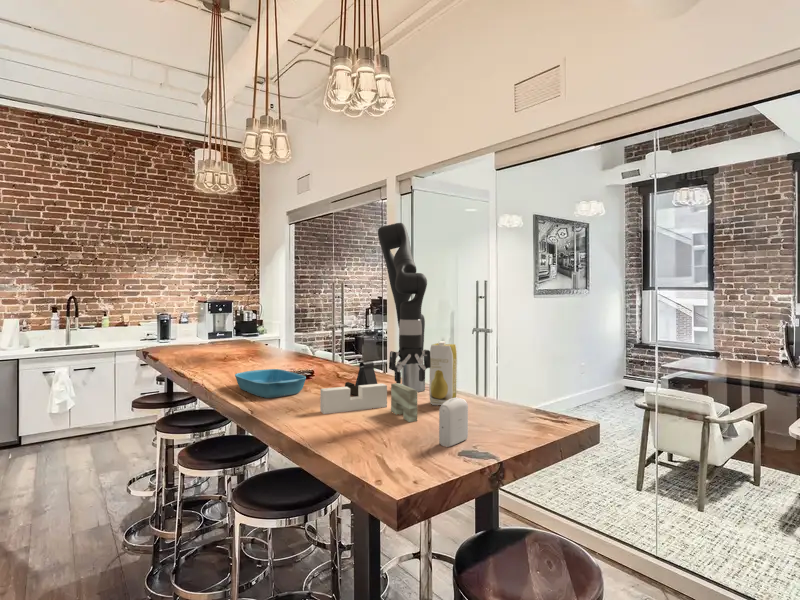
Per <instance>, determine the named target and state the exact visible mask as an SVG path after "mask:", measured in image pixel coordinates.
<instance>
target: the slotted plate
mask: <svg viewBox="0 0 800 600" xmlns="http://www.w3.org/2000/svg"><path fill="white" fill-rule="evenodd" d="M390 393H391V394H390V397H391V399H390V413H392V412H393V413H392V414H394V413H395V414H394V415H395V416H398V415H397V414H399V415H402V417H403V420H404V419H405V420H404V421H406V422H408V423H412V422H413V421H414V422H417V421H418V392H417V390H414V389H412V388H410V387H407V386H405V385H402V383H396V382H395V383H391V388H390Z"/></svg>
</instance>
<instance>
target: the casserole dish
mask: <svg viewBox="0 0 800 600" xmlns="http://www.w3.org/2000/svg"><path fill="white" fill-rule="evenodd" d="M234 377H235V379H236V382H237V386H238V387H239V388H240V389H241V390H242V391H244V392H246V391H247V393H249V394H252V395H254V396H257V397H259V396H260V397H259V398H263V397H264V398H265V399H272V398H273V399H274V398H281V397H286V396H287V397H288V396H292V395H297V394H299V393H300V392H301V391H302V390H303V388H304V385H305V382H306V379H307V377H306V375H303V374H301V373H296V372H292V371H289V370H284V369H279V368H277V369H276V368H270V369H269V368H268V369H255V370H247V371H243V372H238V373H235V374H234Z"/></svg>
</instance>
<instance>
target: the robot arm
mask: <svg viewBox="0 0 800 600" xmlns="http://www.w3.org/2000/svg"><path fill="white" fill-rule="evenodd" d="M377 237H378V242H379V245H380V248H381V251H382V255H383V259H384V261H385V265H386V269H387V275H388V281H389V286H390V289H391V292H392V296H393V300H394V301H393V302H394V305H395V309H396V310H395V311H396V316H397V317H396V318H397V325H398V348H399V349H398V351H392V350H390V351H389V363H388V370H391V371H393V372H394V381H395V383H400V384H402V385H405V386H407V387H410V388H412V389H414V390H417V393H420V392H422V391H425V390H426V370H427V369H430V367H431V363H430V350H429V349H424V344H425V330H426V329H425V326H426V323H425V322H426V320H425V316H424V314H422V306H423V301H424V296H425V294H426V290H427V286H428V280H427V277H426V275H425V274H424V273H421V272H417V266H416V264H415V261H414V257H413V254H412V249H411V244H410V243H411V242H410V237H409V235H408V230H407V227H406V226H405V224H404V223H403V222H396V223H395V222H394V223H392V224H389V225H384V226H383V225H382V226H381V227H379V228H378V230H377ZM394 249H397V250H396V252H395V254H393V253H392V251H391V250H394ZM412 295H414V297H413V298H411V297H412ZM410 299H411V300H410ZM398 357H399V359H398V361H397V358H398Z"/></svg>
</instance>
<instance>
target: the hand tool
mask: <svg viewBox="0 0 800 600" xmlns="http://www.w3.org/2000/svg"><path fill="white" fill-rule="evenodd" d="M355 384H356V383H353V382H351V381H350V382H349V381H347V382H345V383H344V387H348V388H350V395H354V396H355V397H357V396H358V387H356V386H355Z"/></svg>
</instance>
